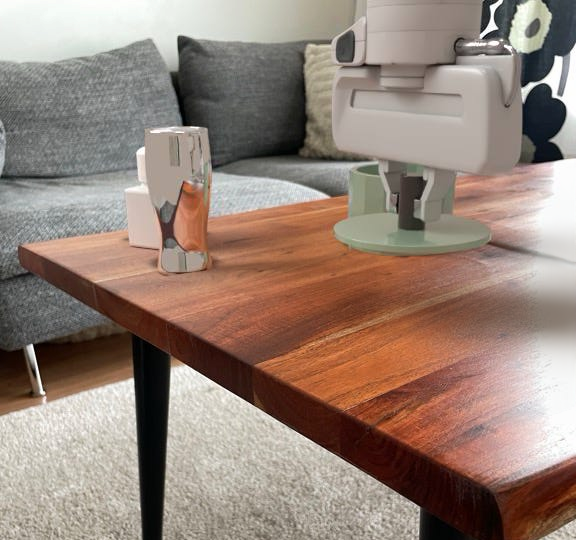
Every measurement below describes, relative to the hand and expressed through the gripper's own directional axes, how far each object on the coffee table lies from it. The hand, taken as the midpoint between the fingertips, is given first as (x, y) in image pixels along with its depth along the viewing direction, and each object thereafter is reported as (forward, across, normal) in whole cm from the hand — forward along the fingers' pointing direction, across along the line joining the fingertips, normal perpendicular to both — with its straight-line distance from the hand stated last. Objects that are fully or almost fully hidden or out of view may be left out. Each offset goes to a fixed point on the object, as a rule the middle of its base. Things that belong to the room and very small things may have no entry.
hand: (412, 216), depth 62 cm
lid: (+2, 0, 0) cm, 2 cm away
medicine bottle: (+9, +38, +8) cm, 40 cm away
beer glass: (+9, +25, +11) cm, 29 cm away
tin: (+9, +21, -16) cm, 28 cm away
